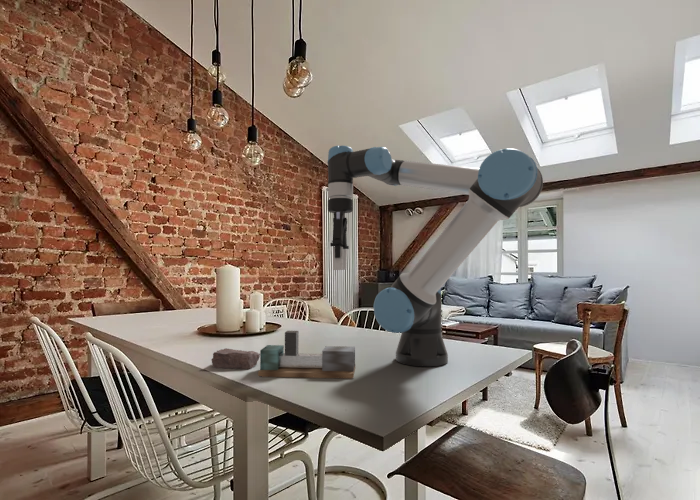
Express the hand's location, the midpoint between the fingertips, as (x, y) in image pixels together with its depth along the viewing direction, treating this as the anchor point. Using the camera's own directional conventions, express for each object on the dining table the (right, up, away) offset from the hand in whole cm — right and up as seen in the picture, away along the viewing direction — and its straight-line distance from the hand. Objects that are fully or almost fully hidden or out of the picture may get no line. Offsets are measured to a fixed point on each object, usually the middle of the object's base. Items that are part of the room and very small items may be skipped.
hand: (340, 270), depth 116 cm
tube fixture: (-8, -26, -14) cm, 31 cm away
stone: (-29, -27, -6) cm, 40 cm away
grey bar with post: (-11, -25, -13) cm, 30 cm away
